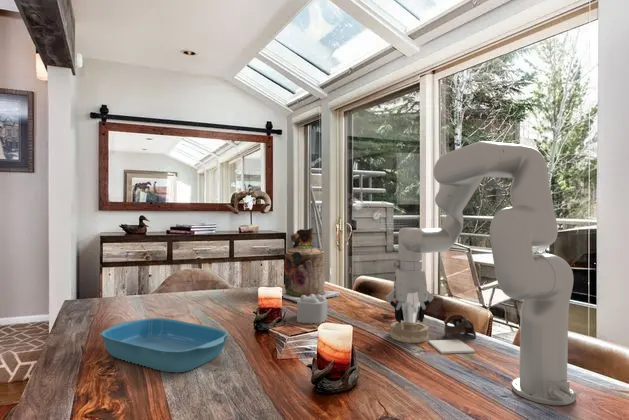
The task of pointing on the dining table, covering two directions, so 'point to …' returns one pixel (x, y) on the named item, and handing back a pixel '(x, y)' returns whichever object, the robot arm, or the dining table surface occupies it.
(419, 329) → the collar
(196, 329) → the casserole dish
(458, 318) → the dark brown arch
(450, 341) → the coaster
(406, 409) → the dining table surface
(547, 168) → the robot arm
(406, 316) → the beer glass
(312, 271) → the cookie jar
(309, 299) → the gray box with bumps
